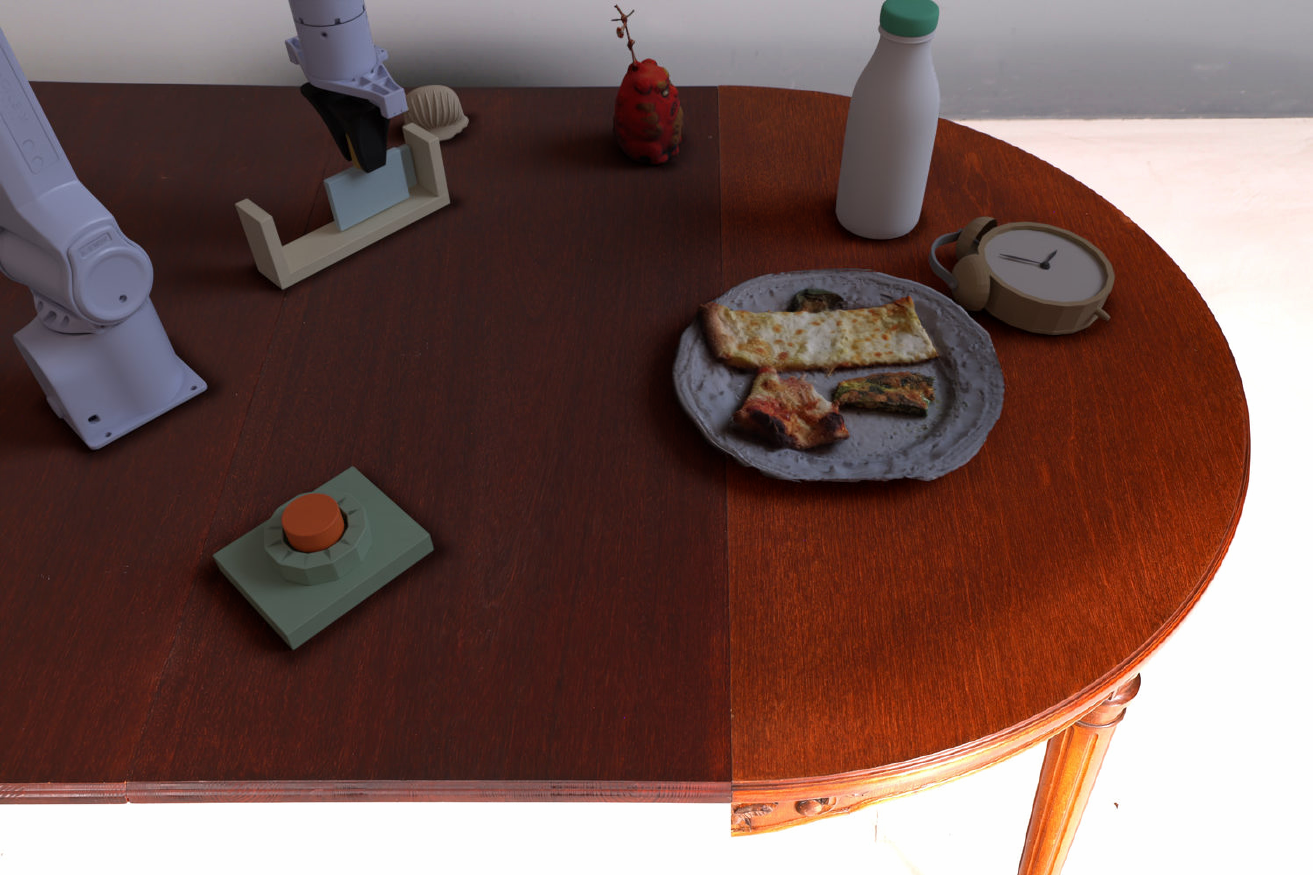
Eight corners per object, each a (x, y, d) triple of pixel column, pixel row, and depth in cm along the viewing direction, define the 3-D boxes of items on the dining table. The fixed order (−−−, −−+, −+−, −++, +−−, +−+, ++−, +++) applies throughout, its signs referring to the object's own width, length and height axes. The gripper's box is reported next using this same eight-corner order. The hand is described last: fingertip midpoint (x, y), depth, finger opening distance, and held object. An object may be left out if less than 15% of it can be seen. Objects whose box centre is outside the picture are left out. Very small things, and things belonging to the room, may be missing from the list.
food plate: (672, 499, 74) (672, 465, 71) (671, 293, 90) (671, 259, 87) (1027, 498, 73) (1040, 464, 71) (963, 291, 90) (971, 258, 87)
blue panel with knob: (345, 234, 94) (324, 155, 88) (332, 225, 95) (309, 146, 89) (414, 200, 98) (398, 122, 92) (400, 191, 99) (383, 113, 93)
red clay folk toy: (680, 171, 103) (680, 22, 93) (609, 169, 104) (602, 21, 93) (684, 131, 109) (685, -14, 98) (617, 129, 109) (611, -15, 98)
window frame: (282, 290, 91) (259, 222, 86) (258, 271, 93) (234, 203, 88) (450, 203, 100) (438, 137, 95) (425, 187, 102) (412, 122, 97)
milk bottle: (924, 242, 95) (968, 26, 80) (838, 242, 95) (868, 27, 80) (911, 194, 100) (951, -16, 86) (830, 194, 100) (856, -15, 86)
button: (308, 562, 66) (300, 545, 65) (277, 531, 68) (270, 514, 67) (355, 530, 68) (349, 513, 67) (324, 501, 70) (318, 484, 69)
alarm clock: (1119, 320, 82) (935, 263, 83) (1090, 364, 86) (914, 309, 87) (1117, 239, 90) (948, 187, 91) (1090, 283, 93) (928, 232, 94)
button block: (293, 650, 66) (278, 618, 63) (220, 570, 70) (203, 537, 67) (434, 550, 71) (425, 517, 68) (357, 481, 75) (346, 448, 73)
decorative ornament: (472, 137, 108) (465, 89, 104) (390, 148, 107) (380, 100, 103) (467, 118, 111) (460, 70, 107) (388, 128, 110) (378, 80, 106)
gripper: (425, 22, 82) (452, 174, 91) (321, -30, 89) (356, 116, 98) (348, 53, 78) (385, 207, 88) (247, -4, 85) (291, 145, 95)
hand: (365, 162), depth 93 cm, fingers closed on blue panel with knob, 2 cm apart
